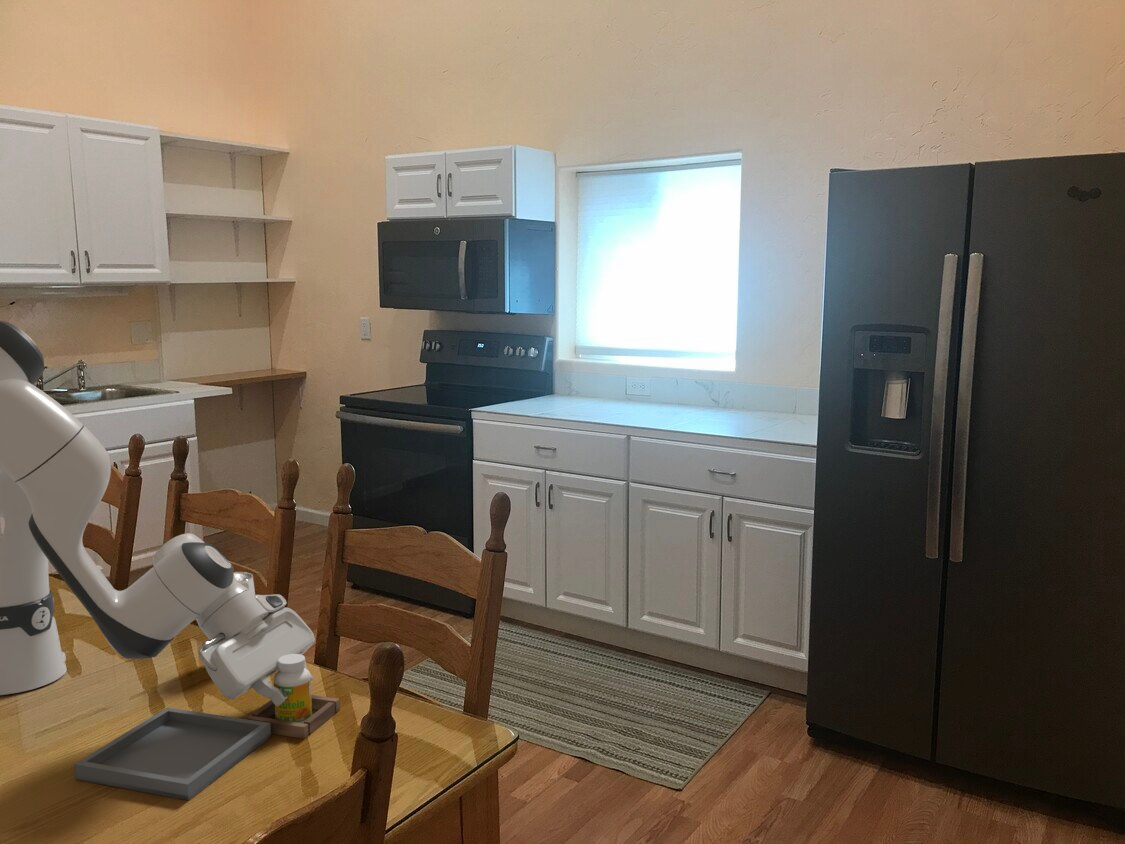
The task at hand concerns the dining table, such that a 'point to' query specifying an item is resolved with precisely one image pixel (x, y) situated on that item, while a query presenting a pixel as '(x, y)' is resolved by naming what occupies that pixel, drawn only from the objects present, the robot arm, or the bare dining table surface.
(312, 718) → the frame
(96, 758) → the grey tray
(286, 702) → the supplement bottle
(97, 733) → the dining table surface
